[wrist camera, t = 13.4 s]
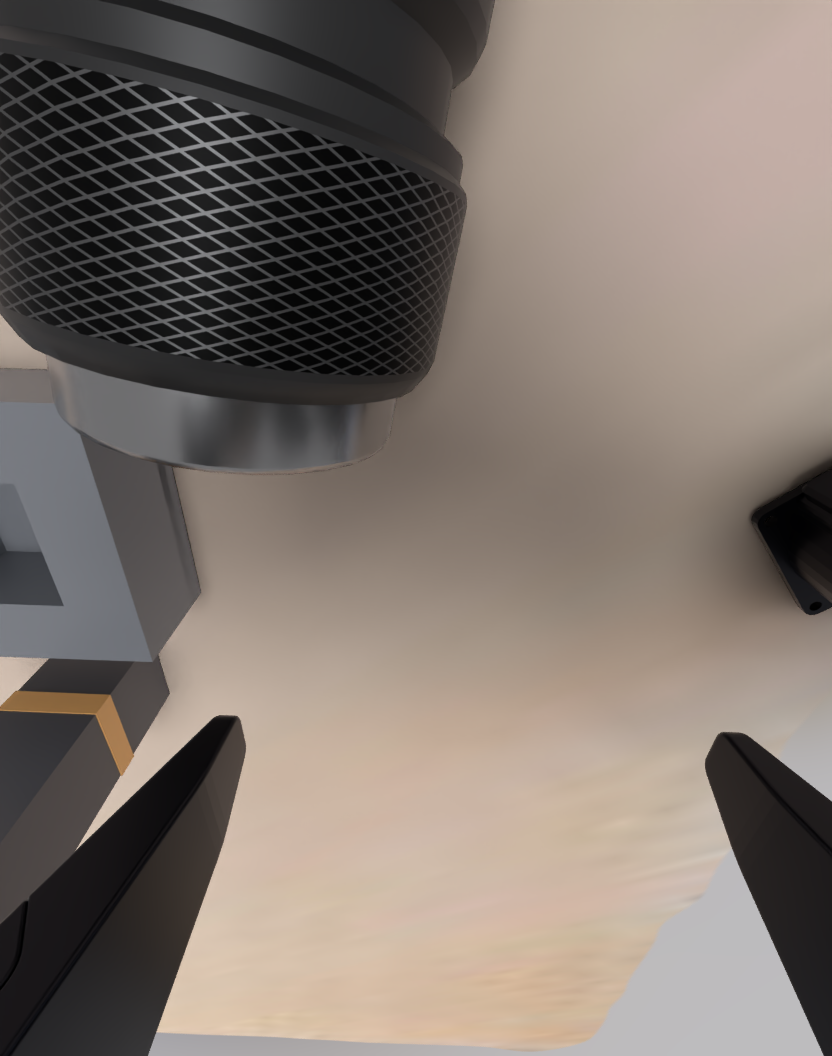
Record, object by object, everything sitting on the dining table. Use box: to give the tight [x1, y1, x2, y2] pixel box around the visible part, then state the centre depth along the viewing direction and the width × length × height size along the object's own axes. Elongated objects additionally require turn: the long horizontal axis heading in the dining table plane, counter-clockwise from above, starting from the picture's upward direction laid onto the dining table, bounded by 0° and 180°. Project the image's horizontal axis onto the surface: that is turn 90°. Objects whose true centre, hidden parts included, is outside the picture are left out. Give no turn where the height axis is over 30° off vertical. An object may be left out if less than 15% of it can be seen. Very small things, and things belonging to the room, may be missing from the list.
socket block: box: [0, 368, 201, 662], centre depth 18 cm, size 10×10×4 cm
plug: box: [0, 655, 170, 923], centre depth 20 cm, size 4×4×11 cm
